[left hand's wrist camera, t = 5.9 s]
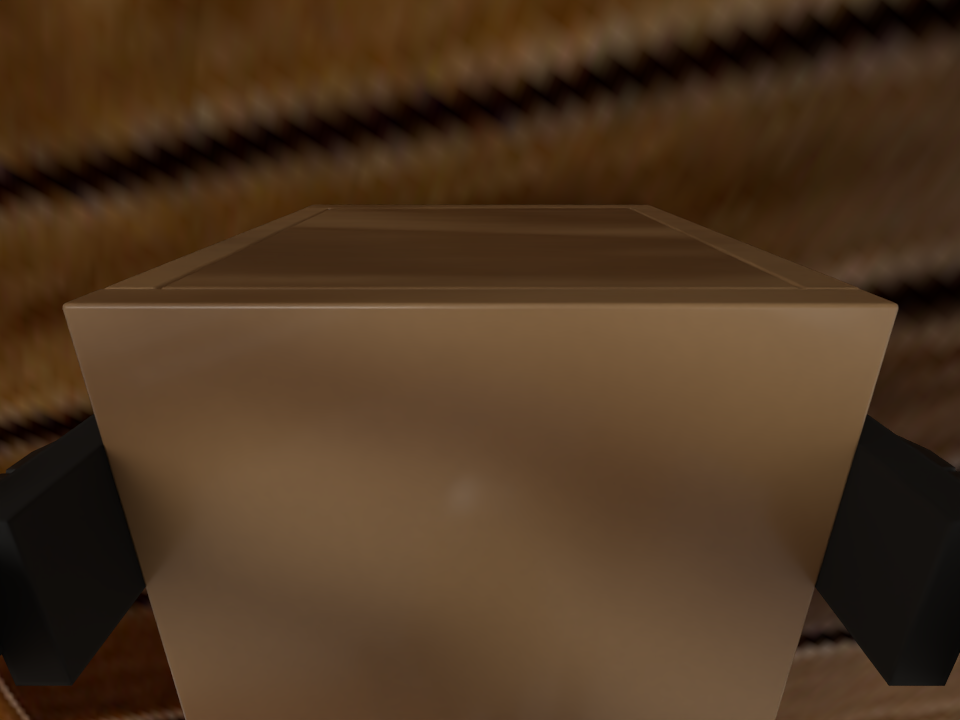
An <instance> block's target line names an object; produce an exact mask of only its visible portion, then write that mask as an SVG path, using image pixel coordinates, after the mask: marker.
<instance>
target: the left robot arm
mask: <svg viewBox="0 0 960 720" xmlns="http://www.w3.org/2000/svg"><path fill="white" fill-rule="evenodd" d="M145 587H146V586H145V583H144V579H143V576H142V572H141V569H140V566H139V562H138V559H137V556H136V552H135V549H134V546H133V542H132V539H131V536H130V532H129V529H128V526H127V522H126V519H125V515H124V512H123V509H122V505H121V502H120V499H119V495H118V492H117V489H116V485H115V482H114V479H113V475H112V472H111V468H110V465H109V462H108V458H107V455H106V452H105V448H104V445H103V442H102V438H101V435H100V432H99V428H98V425H97V422H96V418H95V415H94V414H93V415H92V416H90V417H89V418H88V419H86V420H85V421H83V422H82V423H81V424H79V425H78V426H76V427H75V428H74V429H72V430H71V431H69V432H68V433H67V434H65V435H64V436H62V437H61V438H59V439H58V440H57V441H55V442H53V443H51V444H48V445H46V446H44V447H42V448H40V449H37V450H35V451H33V452H31V453H30V454H28V455H27V456H26V457H24V458H23V459H21V460H20V461H18V462H17V463H15V464H14V465H13V466H11V467H10V468H8V469H7V470H6V474H0V655H1V654H2V655H3V658H4V660H5V662H6V664H7V666H8V669H9V671H10V673H11V675H12V678H13V680H14V682H15V684H16V685H72V684H73V683H74V682H75V680H76V679H77V678H78V676H79V675H80V674H81V672H82V671H83V670H84V668H85V667H86V666H87V664H88V663H89V662H90V660H91V659H92V658H93V656H94V655H95V654H96V652H97V651H98V650H99V648H100V647H101V646H102V644H103V643H104V642H105V640H106V639H107V638H108V636H109V635H110V634H111V632H112V631H113V630H114V628H115V627H116V626H117V624H118V623H119V622H120V620H121V619H122V618H123V616H124V615H125V614H126V612H127V611H128V610H129V608H130V607H131V606H132V604H133V603H134V602H135V600H136V599H137V598H138V596H139V595H140V594H141V592H142V591H143V589H144V588H145ZM815 587H816V589H817V590H818V591H819V593H820V594H821V595H822V597H823V598H824V599H825V601H826V602H827V603H828V605H829V606H830V607H831V609H832V610H833V611H834V613H835V614H836V615H837V617H838V618H839V619H840V621H841V622H842V623H843V625H844V626H845V627H846V629H847V630H848V631H849V633H850V634H851V635H852V637H853V638H854V639H855V641H856V642H857V644H858V645H859V646H860V648H861V649H862V650H863V652H864V653H865V654H866V656H867V657H868V658H869V660H870V661H871V662H872V664H873V665H874V666H875V668H876V669H877V670H878V672H879V673H880V674H881V676H882V677H883V678H884V680H885V681H886V682H887V684H888V685H889V686H945V684H946V682H947V680H948V677H949V675H950V673H951V671H952V669H953V666H954V664H955V662H956V660H957V657H958V655H959V653H960V472H956V470H955V467H953V466H952V465H951V464H949V463H948V462H946V461H945V460H943V459H942V458H940V457H939V456H938V455H936V454H935V453H933V452H932V451H930V450H928V449H926V448H924V447H922V446H920V445H917V444H915V443H913V442H911V441H909V440H906V439H904V438H902V437H900V436H898V435H896V434H894V433H893V432H891V431H890V430H889V429H887V428H886V427H884V426H883V425H882V424H880V423H879V422H877V421H876V420H874V419H873V418H872V417H870V416H869V415H866V419H865V422H864V425H863V429H862V432H861V435H860V439H859V442H858V445H857V449H856V452H855V455H854V459H853V462H852V465H851V469H850V472H849V475H848V479H847V482H846V485H845V489H844V492H843V495H842V499H841V502H840V505H839V509H838V512H837V515H836V519H835V522H834V525H833V529H832V532H831V535H830V539H829V542H828V546H827V549H826V552H825V556H824V559H823V562H822V566H821V569H820V572H819V576H818V579H817V582H816V586H815Z"/></svg>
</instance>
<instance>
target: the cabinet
mask: <svg viewBox="0 0 960 720" xmlns="http://www.w3.org/2000/svg"><path fill="white" fill-rule="evenodd" d="M63 311H64V314H65V318H66V321H67V324H68V328H69V331H70V334H71V338H72V341H73V344H74V348H75V351H76V354H77V358H78V361H79V365H80V368H81V371H82V375H83V378H84V381H85V385H86V388H87V391H88V395H89V398H90V401H91V405H92V408H93V411H94V415H95V418H96V422H97V425H98V428H99V432H100V435H101V438H102V442H103V445H104V448H105V452H106V455H107V458H108V462H109V465H110V468H111V472H112V475H113V479H114V482H115V485H116V489H117V492H118V495H119V499H120V502H121V505H122V509H123V512H124V515H125V519H126V522H127V526H128V529H129V532H130V536H131V539H132V542H133V546H134V549H135V552H136V556H137V559H138V562H139V566H140V569H141V572H142V576H143V579H144V583H145V586H146V589H147V593H148V596H149V599H150V603H151V606H152V609H153V613H154V616H155V619H156V623H157V626H158V629H159V633H160V636H161V640H162V643H163V646H164V650H165V653H166V656H167V660H168V663H169V666H170V670H171V673H172V676H173V680H174V683H175V686H176V690H177V693H178V697H179V700H180V703H181V707H182V710H183V713H184V717H185V720H775V719H776V716H777V713H778V709H779V706H780V703H781V699H782V696H783V693H784V689H785V686H786V683H787V679H788V676H789V673H790V669H791V666H792V662H793V659H794V656H795V652H796V649H797V646H798V642H799V639H800V636H801V632H802V629H803V626H804V622H805V619H806V616H807V612H808V609H809V606H810V602H811V599H812V596H813V592H814V589H815V586H816V582H817V579H818V576H819V572H820V569H821V566H822V562H823V559H824V556H825V552H826V549H827V546H828V542H829V539H830V535H831V532H832V529H833V525H834V522H835V519H836V515H837V512H838V509H839V505H840V502H841V499H842V495H843V492H844V489H845V485H846V482H847V479H848V475H849V472H850V469H851V465H852V462H853V459H854V455H855V452H856V449H857V445H858V442H859V439H860V435H861V432H862V429H863V425H864V422H865V419H866V415H867V412H868V408H869V405H870V402H871V398H872V395H873V392H874V388H875V385H876V382H877V378H878V375H879V372H880V368H881V365H882V362H883V358H884V355H885V352H886V348H887V345H888V342H889V338H890V335H891V332H892V328H893V325H894V322H895V318H896V315H897V312H898V305H897V304H896V303H894V302H891V301H889V300H886V299H884V298H881V297H879V296H876V295H874V294H871V293H868V292H866V291H863V290H861V289H859V288H857V287H855V286H852V285H850V284H847V283H845V282H842V281H840V280H837V279H835V278H832V277H830V276H827V275H824V274H822V273H819V272H817V271H814V270H812V269H809V268H807V267H804V266H802V265H799V264H797V263H794V262H792V261H789V260H786V259H784V258H781V257H779V256H776V255H774V254H771V253H769V252H766V251H764V250H761V249H759V248H756V247H754V246H751V245H749V244H746V243H743V242H741V241H738V240H736V239H733V238H731V237H728V236H726V235H723V234H721V233H718V232H716V231H713V230H711V229H708V228H706V227H703V226H700V225H698V224H695V223H693V222H690V221H688V220H685V219H683V218H680V217H678V216H675V215H673V214H670V213H668V212H665V211H663V210H660V209H657V208H655V207H652V206H650V205H311V206H309V207H306V208H304V209H302V210H299V211H297V212H294V213H292V214H289V215H287V216H284V217H282V218H279V219H277V220H274V221H272V222H269V223H267V224H264V225H262V226H259V227H257V228H254V229H252V230H249V231H247V232H244V233H242V234H239V235H237V236H234V237H232V238H229V239H227V240H224V241H222V242H219V243H217V244H214V245H212V246H209V247H207V248H204V249H201V250H199V251H196V252H194V253H191V254H189V255H186V256H184V257H181V258H179V259H176V260H174V261H171V262H169V263H166V264H164V265H161V266H159V267H156V268H154V269H151V270H149V271H146V272H144V273H141V274H139V275H136V276H134V277H131V278H129V279H126V280H124V281H121V282H119V283H116V284H114V285H111V286H109V287H106V288H105V289H100V290H97V291H95V292H92V293H90V294H87V295H85V296H82V297H80V298H77V299H75V300H72V301H70V302H67V303H65V304H64V305H63Z"/></svg>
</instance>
